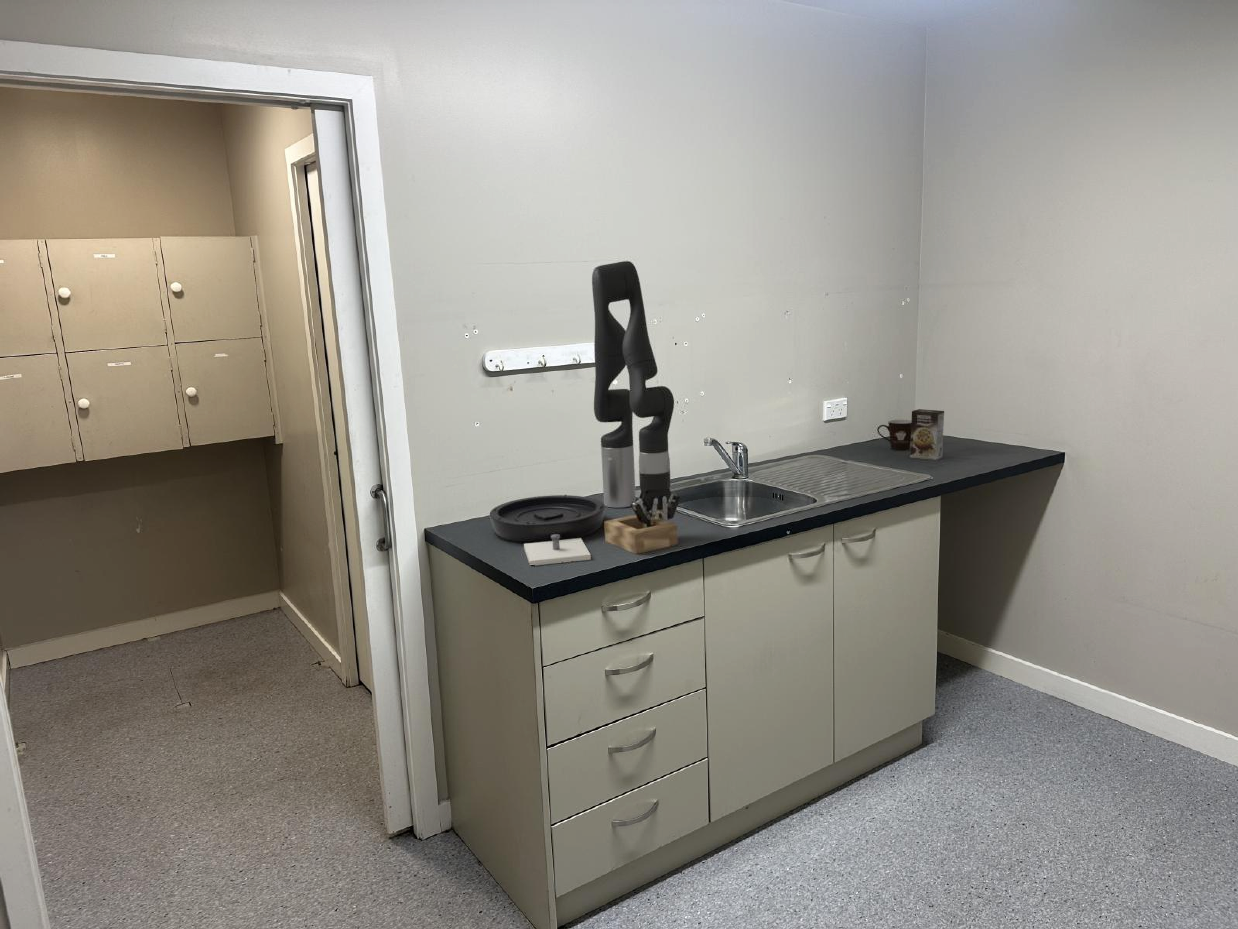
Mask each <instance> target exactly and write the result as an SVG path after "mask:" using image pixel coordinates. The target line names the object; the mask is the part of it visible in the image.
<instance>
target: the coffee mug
mask: <svg viewBox="0 0 1238 929" xmlns="http://www.w3.org/2000/svg"><path fill="white" fill-rule="evenodd" d="M911 422H912V419H911V420H909V419H891V420H888V422H887V423H888V425H886V424H880V425H879V426H878V427H877V428H876V429H877V433H878V435H879V436H880V437H881V438H883V439H884V440H886V441H888V442H889V443H890V450H892V451H899V452H901V451H902V452H903V451H909V450H911ZM883 427H885V428H886V429H887V430H888V432H889V438H887V437H886V436H884V435H883V434H881V432H880V428H883Z"/></svg>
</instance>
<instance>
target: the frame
mask: <svg viewBox="0 0 1238 929" xmlns="http://www.w3.org/2000/svg"><path fill="white" fill-rule="evenodd" d="M603 524H604V525H603V526H604V541H605V542H607V543H609V544H611V545H613V546H616V547H619V548H621V549H623V550H625V551H628V552H630V553H633V554H634V555H638V554H643V553H646V552H651V551H655V550H660V549H665V548H669V547H672V546H676V545H675V544H677V545H678V544H679V542H678V523H675V522H671V521H669V520H668V521H666V520H663V519H660V518H658V516H655V524H654V525H655V526H652V527H647V525H646V524H644V523H641V522H639V520H638V518H637V516H636V514H634V515H633V514H632V515H628V516H624V517H619V518H614V519H609V520H605V521H604V520H603Z"/></svg>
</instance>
